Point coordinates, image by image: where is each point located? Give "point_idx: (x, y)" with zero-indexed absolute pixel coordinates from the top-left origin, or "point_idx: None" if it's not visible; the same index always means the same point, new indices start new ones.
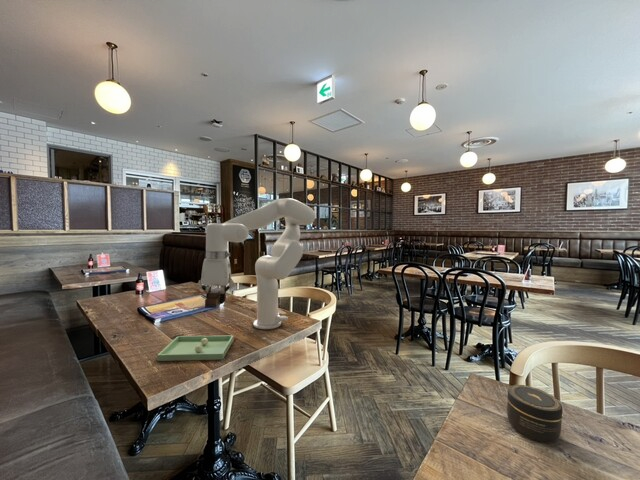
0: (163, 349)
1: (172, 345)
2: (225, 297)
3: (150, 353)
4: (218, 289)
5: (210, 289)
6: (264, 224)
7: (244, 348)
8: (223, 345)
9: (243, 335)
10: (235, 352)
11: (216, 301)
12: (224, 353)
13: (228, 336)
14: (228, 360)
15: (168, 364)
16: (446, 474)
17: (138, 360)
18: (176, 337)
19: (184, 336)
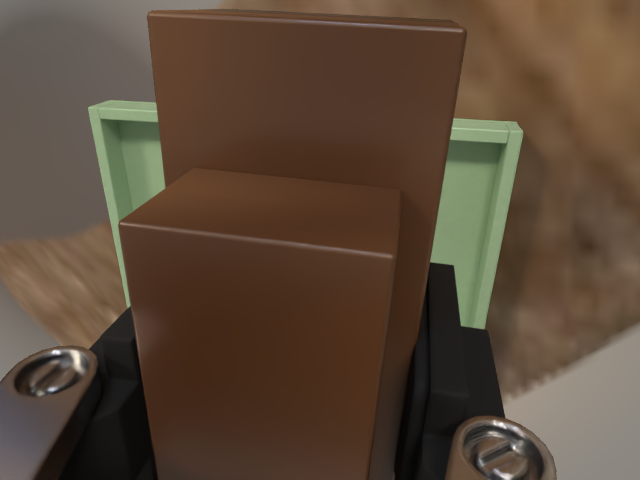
0: (125, 293)
1: (127, 202)
2: (491, 361)
3: (67, 247)
4: (283, 418)
5: (81, 429)
6: None
7: (604, 266)
8: (450, 227)
9: (610, 14)
10: (539, 308)
11: None
12: None
13: (478, 141)
14: (501, 383)
15: None
16: None
17: (66, 306)
18: (94, 132)
19: (137, 118)
